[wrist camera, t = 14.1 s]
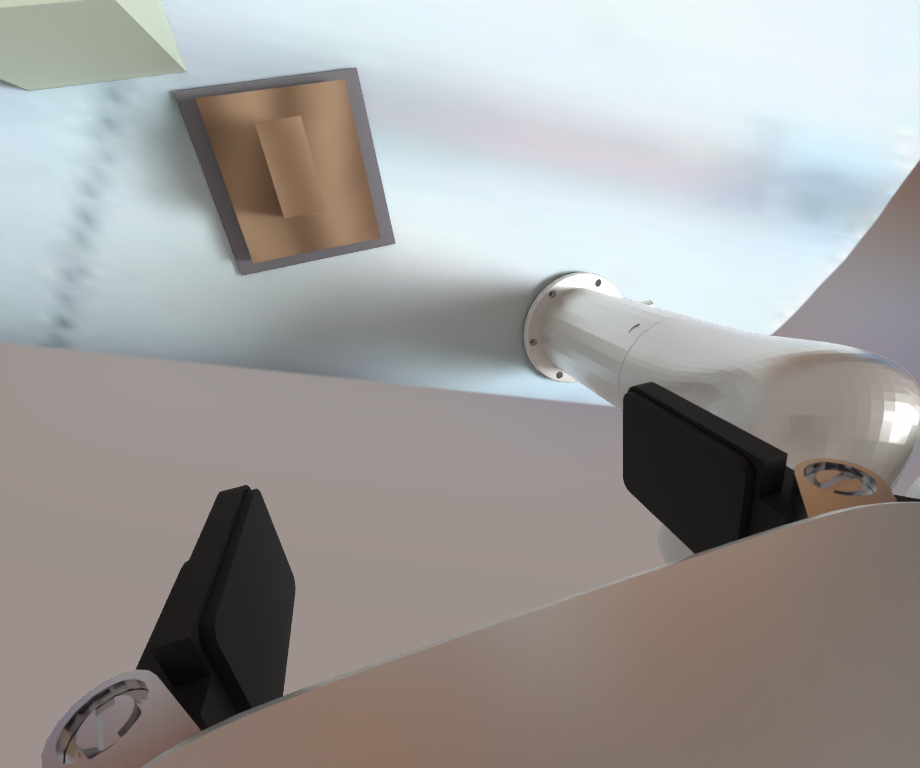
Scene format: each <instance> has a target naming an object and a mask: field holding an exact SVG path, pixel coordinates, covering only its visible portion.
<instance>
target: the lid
mask: <svg viewBox="0 0 920 768" xmlns="http://www.w3.org/2000/svg"><path fill="white" fill-rule="evenodd" d="M195 99H196V102H197V104H198V107H199V110H200V113H201V116H202V119H203V122H204V124H205V127H206V130H207V133H208V136H209V139H210V142H211V144H212V147H213V150H214V153H215V156H216V159H217V161H218V164H219V167H220V170H221V173H222V176H223V179H224V181H225V184H226V187H227V190H228V193H229V196H230V199H231V201H232V204H233V207H234V210H235V213H236V216H237V219H238V221H239V224H240V227H241V230H242V233H243V236H244V238H245V241H246V244H247V247H248V250H249V253H250V256H251V258H252V261H253V263H258V262H263V261H268V260H273V259H278V258H283V257H288V256H293V255H298V254H303V253H308V252H313V251H318V250H323V249H328V248H333V247H338V246H343V245H348V244H353V243H358V242H363V241H368V240H373V239H378V238H381V236H380V231H379V227H378V223H377V218H376V214H375V209H374V205H373V201H372V196H371V192H370V188H369V183H368V179H367V175H366V170H365V166H364V161H363V157H362V153H361V148H360V144H359V140H358V135H357V131H356V127H355V122H354V118H353V113H352V109H351V105H350V100H349V96H348V92H347V87H346V83H345V79H343V80H335V81H327V82H319V83H312V84H304V85H296V86H288V87H280V88H272V89H265V90H257V91H249V92H241V93H233V94H225V95H218V96H210V97H202V98H195Z"/></svg>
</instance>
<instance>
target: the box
mask: <svg viewBox="0 0 920 768" xmlns="http://www.w3.org/2000/svg"><path fill="white" fill-rule="evenodd" d="M181 72H187V71H186V69H185V66H184V63H183V60H182V57H181V55H180V52H179V49H178V46H177V43H176V40H175V38H174V35H173V32H172V29H171V26H170V23H169V21H168V18H167V15H166V12H165V9H164V7H163V4H162V1H161V0H0V79H1V80H4V81H6V82H9V83H11V84H13V85H16V86H18V87H21V88H23V89H26V90H28V91H32V90H40V89H49V88H57V87H65V86H73V85H82V84H90V83H98V82H106V81H115V80H123V79H131V78H139V77H148V76H156V75H164V74H172V73H181Z"/></svg>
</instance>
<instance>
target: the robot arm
mask: <svg viewBox="0 0 920 768" xmlns="http://www.w3.org/2000/svg"><path fill="white" fill-rule="evenodd" d="M550 292H551V294H550V295H549V293H550ZM523 336H524V346H525V350H526V353H527V356H528V358H529V360H530V362H531V363H532V364H533V365H534V367H535V368H536V369H537V370H538V371H540V372H541V373H542V374H543V375H545V376H547V377H548V378H550V379H552V380H555V381H558V382H577V381H578V382H580V383H581V384H583V385H584V386H586V387H587V388H589V389H590V390H592V391H593V392H595V393H596V394H598V395H599V396H601V397H602V398H604V399H605V400H607V401H608V402H610V403H611V404H612V405H614V406H615V407H617V408H619V409H620V410H621V411H623V480H624V484H625V486H626V487H627V489H628V491H629V492H630V493H632V495H634V496H635V497H636V498H637V499H638V500H639V501H640V502H641V503H642V504H643V505H644V506H645V507H646V508H647V509H648V510H649V511H650V512H651V513H652V514H653V515H655V516H656V517H657V518H658V519H659V520H660V521H661V523H660V526H659V532H658V545H659V550H660V553H661V556H662V558H663V560H664V561H665V563H666V564H663V565H660V566H658V567H655V568H651V569H648V570H645V571H643V572H639V573H636V574H633V575H630V576H627V577H624V578H621V579H618V580H616V581H613V582H610V583H607V584H604V585H601V586H598V587H595V588H592V589H589V590H586V591H583V592H580V593H577V594H574V595H571V596H568V597H565V598H563V599H560V600H557V601H554V602H551V603H548V604H545V605H542V606H539V607H536V608H533V609H530V610H527V611H524V612H521V613H518V614H515V615H512V616H509V617H506V618H504V619H501V620H498V621H495V622H492V623H489V624H486V625H483V626H480V627H478V628H475V629H472V630H469V631H466V632H463V633H460V634H457V635H454V636H451V637H448V638H446V639H443V640H440V641H437V642H434V643H431V644H428V645H426V646H422V647H420V648H417V649H414V650H411V651H408V652H405V653H402V654H399V655H396V656H394V657H391V658H388V659H385V660H382V661H379V662H376V663H374V664H371V665H368V666H365V667H362V668H359V669H357V670H354V671H351V672H348V673H345V674H342V675H339V676H336V677H334V678H331V679H328V680H325V681H322V682H319V683H316V684H314V685H311V686H309V687H306V688H303V689H301V690H298V691H295V692H293V693H290V694H288V695H286V696H283V691H284V682H285V674H286V665H287V657H288V648H289V640H290V632H291V624H292V623H291V622H292V615H293V606H294V598H295V581H294V576H293V573H292V571H291V568H290V566H289V563H288V561H287V558H286V556H285V553H284V550H283V548H282V546H281V543H280V541H279V538H278V535H277V533H276V531H275V528H274V525H273V523H272V520H271V518H270V515H269V513H268V510H267V507H266V505H265V503H264V500H263V497H262V495H261V493H260V491H259V490H258V489H254V490H251V489H250V487H249V486H247V485H244V486H241V487H237V488H233V489H229V490H225V491H221V492H219V494H218V495H217V498H216V500H215V502H214V505H213V507H212V509H211V511H210V514H209V516H208V519H207V521H206V523H205V525H204V527H203V530H202V532H201V534H200V537H199V539H198V541H197V543H196V546H195V548H194V550H193V553H192V555H191V557H190V559H189V560H188V561H187V562H185V564H184V565H183V566H182V568H181V570H180V572H179V575H178V577H177V579H176V581H175V584H174V586H173V588H172V590H171V592H170V594H169V597H168V599H167V601H166V603H165V606H164V608H163V610H162V613H161V614H160V617H159V619H158V621H157V624H156V626H155V628H154V630H153V632H152V635H151V637H150V639H149V641H148V643H147V646H146V648H145V650H144V652H143V654H142V657H141V659H140V661H139V664H138V666H137V668H136V670H133V671H129V672H125V673H122V674H119V675H117V676H115V677H113V678H111V679H109V680H106V681H105V682H103V683H102V684H100V685H99V686H97V687H96V688H94V689H93V690H91V691H90V692H88V693H87V694H86V695H85V696H84V697H82V699H80V700H79V701H78V702H77V703H76V704H75V705H73V706H72V707H71V708H70V709H69V711H68V712H67V713H66V714H65V715H64V716H63V717H62V719H61V720H60V721H59V722H58V723H57V725H56V727H55V728H54V730H53V731H52V733H51V734H50V736H49V738H48V739H47V741H46V744H45V747H44V750H43V753H42V768H920V474H919V476H918V477H917V479H916V480H915V482H914V483H913V485H912V486H911V487H910V489H909V491H908V492H907V494H906V495H905V497H904V496H898V495H894V494H893V493H892V489H893V488H894V486H895V485H896V483H897V481H898V480H899V478H900V476H901V475H902V473H903V471H904V470H905V468H906V467H907V465H908V462H909V461H910V459H911V457H912V454H913V452H914V451H915V448H916V446H917V443H918V440H919V437H920V387H919V385H918V384H917V382H916V381H915V380H914V378H913V377H912V376H911V375H910V374H909V373H908V372H907V371H906V370H905V369H903V368H902V367H901V366H899V365H898V364H896V363H894V362H893V361H891V360H889V359H887V358H885V357H882V356H880V355H877V354H874V353H871V352H867V351H864V350H861V349H858V348H854V347H850V346H844V345H839V344H833V343H828V342H820V341H811V340H803V339H793V338H785V337H776V336H769V335H762V334H756V333H750V332H745V331H741V330H736V329H732V328H728V327H724V326H720V325H716V324H712V323H709V322H705V321H701V320H698V319H694V318H691V317H688V316H684V315H681V314H677V313H674V312H670V311H667V310H664V309H660V308H657V307H654V304H653V302H652V301H651V300H648V301H644V302H636V301H633V300H629V299H626V298H623V297H622V295H621V294H620V292H619V290H618V289H617V288H616V287H615V286H614V285H613V284H612V283H611V282H610V281H609V280H607V279H606V278H604V277H602V276H599V275H596V274H592V273H586V272H577V273H572V274H567V275H564V276H562V277H560V278H558V279H556V280H554V281H553V282H552V283H550V284H549V285H547V286H546V287H545V288H544V289H543V290H542V291H541V292H540V293H539V295H538V296H537V297H536V299H535V300H534V302H533V303H532V305H531V307H530V309H529V311H528V314H527V317H526V320H525V324H524V333H523ZM531 339H532V341H531ZM530 341H531V342H530Z"/></svg>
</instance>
